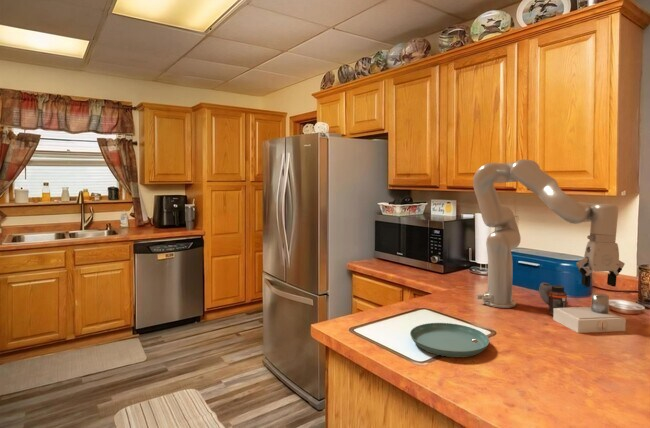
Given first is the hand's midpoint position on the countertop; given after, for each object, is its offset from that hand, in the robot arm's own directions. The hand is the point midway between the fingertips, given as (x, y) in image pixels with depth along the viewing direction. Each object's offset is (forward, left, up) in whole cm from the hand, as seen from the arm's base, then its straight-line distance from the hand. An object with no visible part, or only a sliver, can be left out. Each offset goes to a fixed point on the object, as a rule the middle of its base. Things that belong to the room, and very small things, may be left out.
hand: (598, 285), depth 139 cm
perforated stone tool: (-1, +27, -14) cm, 31 cm away
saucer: (-59, -12, -15) cm, 62 cm away
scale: (-4, -1, -14) cm, 15 cm away
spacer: (0, -1, -9) cm, 9 cm away
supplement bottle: (-7, +11, -14) cm, 20 cm away
